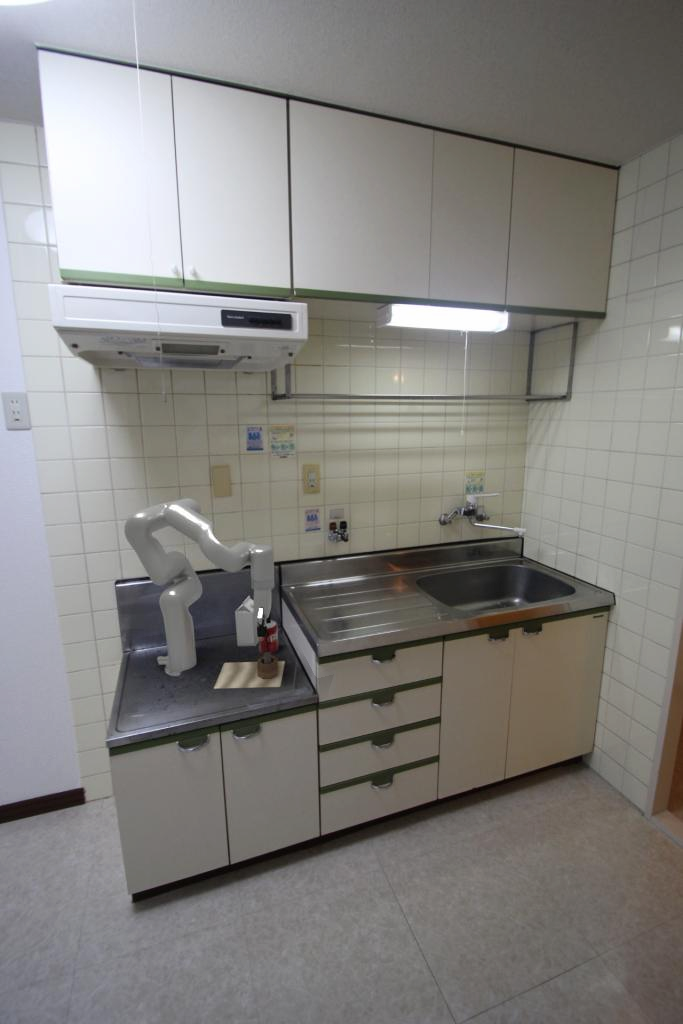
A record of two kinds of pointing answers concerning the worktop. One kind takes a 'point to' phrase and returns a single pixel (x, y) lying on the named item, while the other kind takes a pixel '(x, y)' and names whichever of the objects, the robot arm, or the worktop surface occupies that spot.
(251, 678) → the board
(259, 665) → the bead
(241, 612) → the milk carton
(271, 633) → the soda can
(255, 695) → the worktop surface
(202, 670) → the worktop surface
